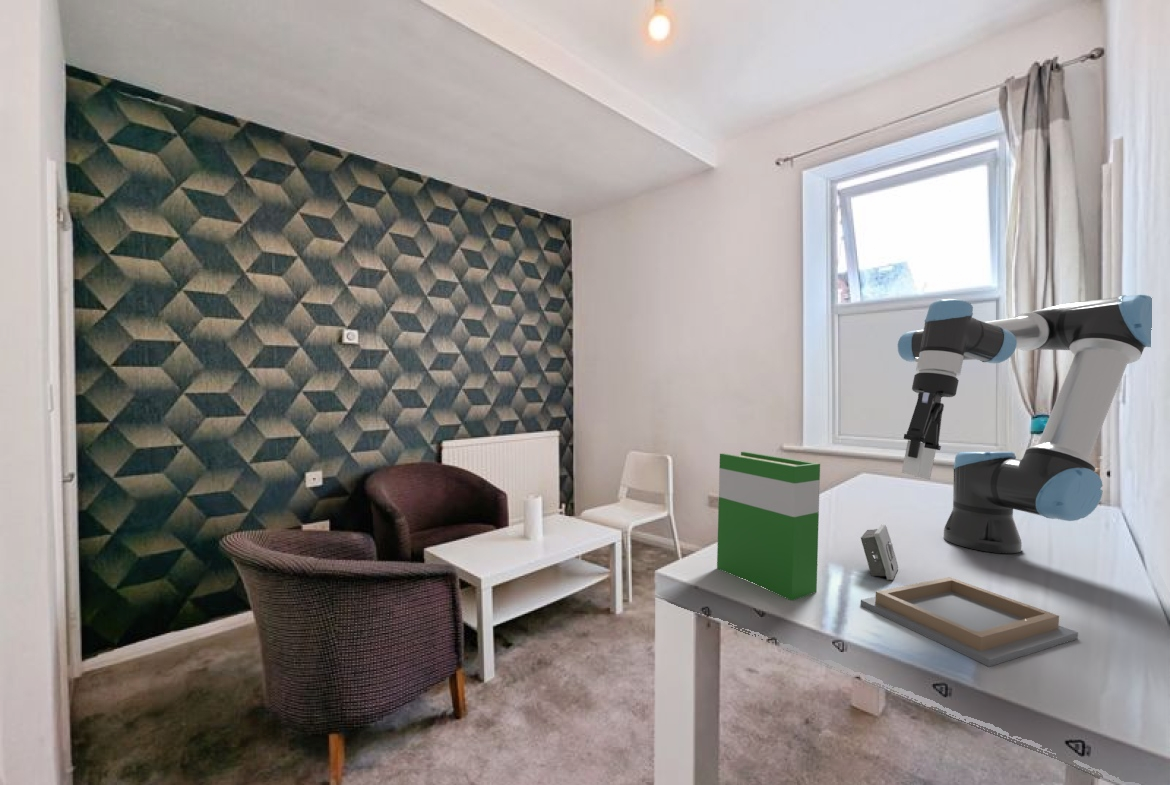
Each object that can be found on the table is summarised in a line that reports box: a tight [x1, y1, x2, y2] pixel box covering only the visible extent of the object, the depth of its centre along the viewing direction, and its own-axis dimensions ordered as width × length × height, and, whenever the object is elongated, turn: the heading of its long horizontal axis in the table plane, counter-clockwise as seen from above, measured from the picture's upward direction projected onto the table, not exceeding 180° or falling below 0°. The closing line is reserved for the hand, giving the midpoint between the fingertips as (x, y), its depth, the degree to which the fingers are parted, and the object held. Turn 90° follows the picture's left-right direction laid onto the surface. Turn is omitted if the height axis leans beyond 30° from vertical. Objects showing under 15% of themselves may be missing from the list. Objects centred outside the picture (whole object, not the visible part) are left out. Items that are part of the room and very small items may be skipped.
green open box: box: [716, 451, 821, 601], centre depth 98 cm, size 18×7×24 cm, turn 32°
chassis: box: [860, 576, 1079, 667], centre depth 82 cm, size 22×20×3 cm
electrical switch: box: [860, 524, 899, 581], centre depth 103 cm, size 9×5×9 cm, turn 141°
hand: (916, 476), depth 101 cm, fingers open, 13 cm apart
